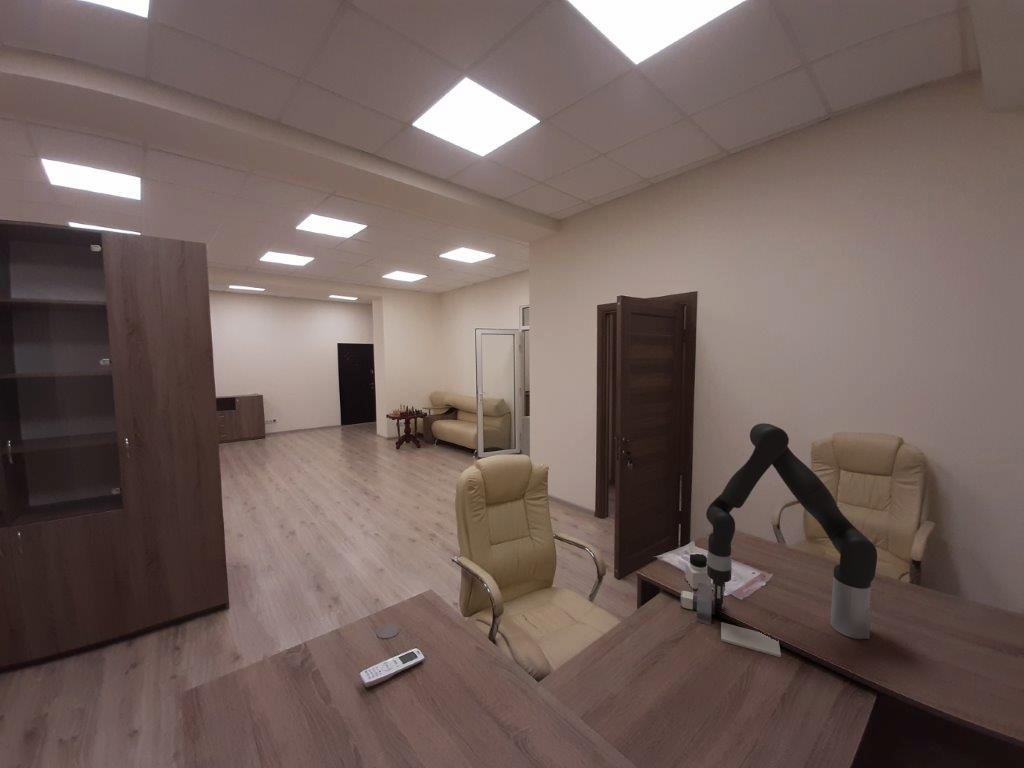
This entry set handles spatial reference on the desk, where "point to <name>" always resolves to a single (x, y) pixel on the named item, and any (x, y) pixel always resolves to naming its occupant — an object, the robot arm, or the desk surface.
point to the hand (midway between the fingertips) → (718, 610)
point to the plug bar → (692, 601)
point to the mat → (749, 639)
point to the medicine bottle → (697, 570)
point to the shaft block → (704, 603)
